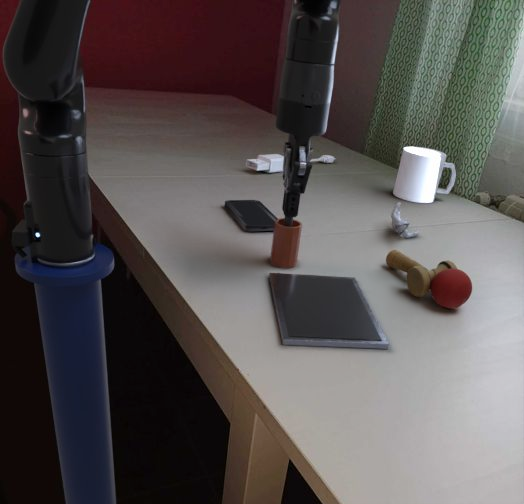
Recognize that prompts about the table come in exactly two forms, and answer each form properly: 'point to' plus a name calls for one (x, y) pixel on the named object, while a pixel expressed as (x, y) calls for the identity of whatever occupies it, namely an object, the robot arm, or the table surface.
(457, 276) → the kendama
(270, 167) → the charging cable
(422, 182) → the mug
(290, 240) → the pen cup
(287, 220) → the stylus
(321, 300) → the tablet
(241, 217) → the phone
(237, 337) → the table surface
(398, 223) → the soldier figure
